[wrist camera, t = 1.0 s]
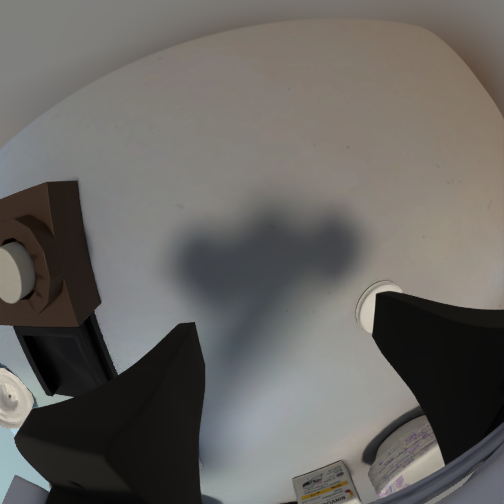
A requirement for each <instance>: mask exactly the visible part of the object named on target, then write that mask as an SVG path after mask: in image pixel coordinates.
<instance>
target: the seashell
mask: <svg viewBox="0 0 504 504" xmlns="http://www.w3.org/2000/svg"><path fill="white" fill-rule="evenodd" d="M33 403H34V400H33V397H32V393H31V392H30V391H29V390H28V389H27V388H26V386H25V385H24V384H23V383H22V382H21V381H20V379H19V378H18V377H17V376H15V375H13V374H12V373H10V372H9V371H7V370H6V369H5V368H0V425H1V426H2V427H5V428H6V429H12V428H20V427H21V426H22V424H23V422H24V421H25V419H26V418H27V416H28V414H29V413H30V411H31V410H32V406H33Z"/></svg>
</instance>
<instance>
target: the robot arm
mask: <svg viewBox="0 0 504 504" xmlns="http://www.w3.org/2000/svg"><path fill="white" fill-rule="evenodd" d="M372 337H373V339H374V340H375V342H376V344H377V346H378V348H379V349H380V351H381V353H382V354H383V355H384V357H385V358H386V359H387V361H388V362H389V363H390V364H391V366H392V367H393V368H394V369H395V371H396V372H397V373H398V374H399V376H400V377H401V378H402V379H403V381H404V382H405V383H406V384H407V386H408V387H409V388H410V390H411V391H412V393H413V394H414V396H415V397H416V399H417V401H418V403H419V404H420V406H421V408H422V410H423V411H424V413H425V415H426V417H427V419H428V422H429V424H430V426H431V428H432V430H433V433H434V435H435V438H436V440H437V443H438V445H439V448H440V451H441V454H442V458H443V461H444V464H445V466H444V467H442V468H441V469H439V470H437V471H436V472H434V473H432V474H430V475H429V476H427V477H425V478H423V479H421V480H419V481H418V482H416V483H414V484H412V485H410V486H408V487H406V488H404V489H401V490H399V491H397V492H395V493H393V494H390V495H388V496H386V497H383V498H381V499H378V500H376V501H373V502H371V503H368V504H424V503H426V502H427V501H429V500H431V499H432V498H434V497H436V496H438V495H439V494H441V493H443V492H444V491H446V490H447V489H449V488H450V487H452V486H454V485H455V484H456V483H458V482H459V481H461V480H462V479H463V478H465V477H466V476H468V475H469V474H470V473H472V472H473V471H474V473H473V474H472V475H471V477H470V478H469V479H468V480H467V481H466V482H465V483H464V484H463V485H462V486H461V487H459V488H458V489H457V490H455V491H454V492H452V493H451V494H449V495H448V496H446V497H444V498H443V499H441V500H440V501H438V502H436V503H435V504H504V310H484V309H472V308H464V307H458V306H452V305H448V304H443V303H439V302H435V301H431V300H427V299H423V298H419V297H415V296H412V295H408V294H404V293H399V292H394V291H385V292H380V293H376V298H375V311H374V322H373V331H372ZM204 393H205V363H204V359H203V355H202V351H201V346H200V342H199V338H198V334H197V329H196V325H195V322H190V323H180V324H178V325H177V326H176V327H175V328H174V329H172V330H171V331H170V332H169V333H168V334H167V335H166V336H165V337H164V338H163V339H162V340H161V341H160V342H159V343H158V344H157V345H156V346H155V347H154V348H153V349H152V350H150V351H149V352H148V353H147V354H146V355H145V356H143V357H142V358H141V359H140V360H139V361H138V362H136V363H135V364H134V365H132V366H131V367H130V368H128V369H127V370H125V371H124V372H122V373H121V374H119V375H118V376H116V377H115V378H113V379H111V380H110V381H108V382H106V383H104V384H102V385H100V386H98V387H96V388H95V389H93V390H91V391H88V392H86V393H84V394H81V395H79V396H76V397H74V398H71V399H68V400H65V401H62V402H59V403H55V404H52V405H48V406H44V407H40V408H35V409H32V410H31V411H30V413H29V414H28V416H27V418H26V419H25V421H24V422H23V424H22V426H21V427H20V429H19V431H18V432H17V434H16V436H15V437H14V440H15V444H16V447H17V448H18V450H19V452H20V453H21V455H22V456H23V457H24V458H25V459H26V460H27V461H28V463H29V464H30V465H31V466H32V467H33V468H34V469H35V470H36V471H37V472H38V473H39V474H40V475H41V476H42V477H44V478H45V479H46V480H47V481H48V482H49V483H50V484H51V485H52V487H51V490H50V493H49V492H48V491H47V490H45V489H43V488H42V487H40V486H38V485H36V484H34V483H32V482H29V481H27V480H25V479H23V478H21V477H19V476H17V475H15V476H14V478H13V480H12V482H11V485H10V487H9V489H8V492H7V494H6V496H5V498H4V500H3V503H2V504H202V502H201V490H200V475H199V469H202V468H203V464H202V462H201V460H200V458H199V431H200V423H201V415H202V408H203V400H204ZM478 467H479V468H478ZM477 468H478V469H477Z"/></svg>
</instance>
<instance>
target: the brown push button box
mask: <svg viewBox="0 0 504 504" xmlns="http://www.w3.org/2000/svg"><path fill="white" fill-rule="evenodd" d="M11 242H18V243H20V244H22V245H23V246H24V247H25V248H26V249H27V251H28V252H29V254H30V255H31V257H32V259H33V262H34V266H35V270H36V282H35V286H34V288H33V290H32V291H31V292H30V293H29V294H27V295H26V296H24V297H23V298H22V299H20V300H19V301H17V302H16V303H7V302H5V301H4V300H2V299H1V298H0V325H10V326H35V327H79V326H80V325H81V324H82V323H83V322H84V321H85V320H86V319H87V318H88V317H89V315H90V314H91V313H92V312H93V311H94V310H95V309H96V308H97V307H98V306H99V305H100V304H101V302H100V298H99V295H98V291H97V287H96V284H95V280H94V276H93V272H92V267H91V263H90V259H89V254H88V249H87V244H86V239H85V234H84V228H83V222H82V215H81V209H80V201H79V193H78V184H77V181H56V182H45V183H42V184H39V185H37V186H34V187H31V188H28V189H26V190H23V191H20V192H18V193H15V194H12V195H10V196H7V197H5V198H3V199H0V246H3V245H6V244H8V243H11Z"/></svg>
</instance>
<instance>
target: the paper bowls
mask: <svg viewBox="0 0 504 504" xmlns="http://www.w3.org/2000/svg"><path fill="white" fill-rule="evenodd" d="M444 466H445V464H444V461H443V458H442V454H441V451H440V448H439V445H438V443H437V440H436V438H435V435H434V433H433V430H432V428H431V426H430V424H429V422H428V419H427V417H426V415H423V416H420V417H417V418H415V419H413V420H411V421H409V422H407V423H406V424H404V425H402V426H401V427H399V428H398V429H397V430H395V431H394V432H393V433H392V434H391V435H390V436H388V437H387V438H386V439H385V441H384V442H383V443H382V444H381V445H380V447H379V449H378V451H377V454H376V460H375V462H374V463H373V464H372V466H371V467H370V469H369V472H368V475H369V478H370V481H371V482H372V485H373V486H374V488H375V491H376V492H377V495H378V496H379V497H381V498H383V497H386V496H388V495H390V494H393V493H395V492H397V491H399V490H401V489H404V488H406V487H408V486H410V485H412V484H414V483H416V482H418V481H419V480H421V479H423V478H425V477H427V476H429V475H430V474H432V473H434V472H436V471H437V470H439V469H441V468H442V467H444Z"/></svg>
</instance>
